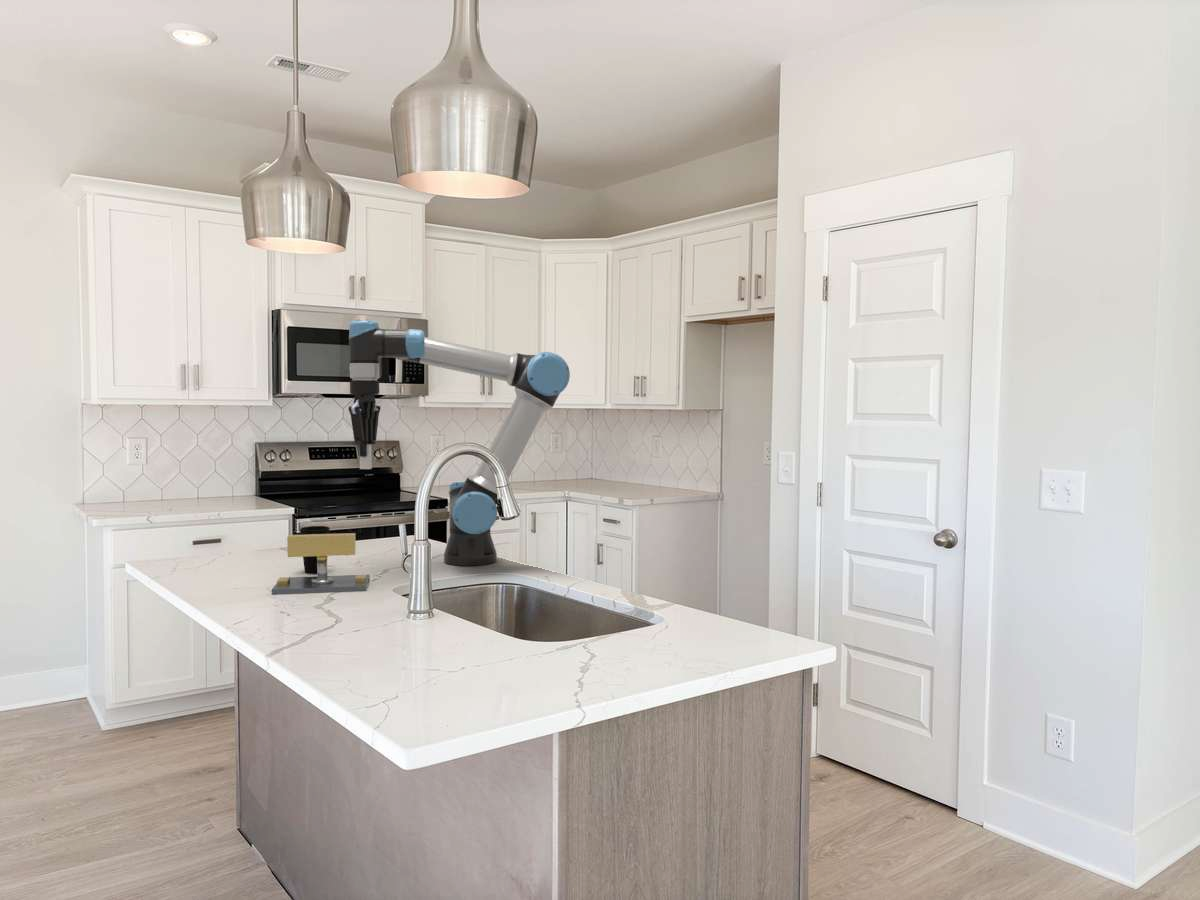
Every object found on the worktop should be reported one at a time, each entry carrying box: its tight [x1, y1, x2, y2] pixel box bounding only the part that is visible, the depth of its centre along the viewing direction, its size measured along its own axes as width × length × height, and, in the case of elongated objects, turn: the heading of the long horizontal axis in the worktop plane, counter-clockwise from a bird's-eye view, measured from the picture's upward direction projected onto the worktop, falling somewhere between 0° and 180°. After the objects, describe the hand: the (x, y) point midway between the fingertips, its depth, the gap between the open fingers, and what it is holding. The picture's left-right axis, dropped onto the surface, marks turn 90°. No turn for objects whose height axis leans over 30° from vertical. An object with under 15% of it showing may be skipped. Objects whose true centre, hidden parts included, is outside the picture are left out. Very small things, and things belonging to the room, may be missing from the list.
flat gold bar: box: [286, 532, 357, 562], centre depth 220 cm, size 3×16×7 cm, turn 102°
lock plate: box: [271, 561, 371, 595], centre depth 221 cm, size 22×14×6 cm, turn 101°
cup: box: [299, 525, 331, 575], centre depth 238 cm, size 8×8×12 cm
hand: (365, 468), depth 234 cm, fingers closed
